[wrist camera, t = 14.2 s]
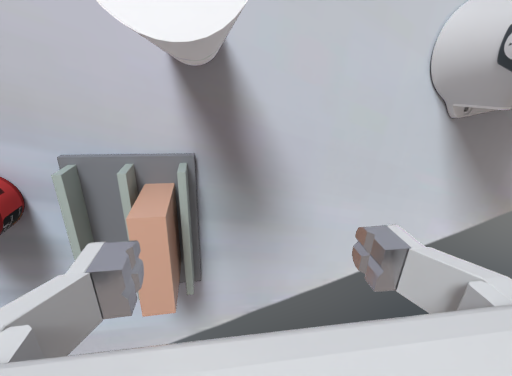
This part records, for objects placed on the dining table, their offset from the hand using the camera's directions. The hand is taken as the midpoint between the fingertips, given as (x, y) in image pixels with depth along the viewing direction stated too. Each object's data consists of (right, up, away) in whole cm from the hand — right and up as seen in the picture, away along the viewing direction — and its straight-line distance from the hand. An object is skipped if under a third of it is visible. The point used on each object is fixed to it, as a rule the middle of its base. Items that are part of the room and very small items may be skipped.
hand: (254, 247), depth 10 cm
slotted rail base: (-18, -3, +30) cm, 35 cm away
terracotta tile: (-14, -4, +30) cm, 33 cm away
